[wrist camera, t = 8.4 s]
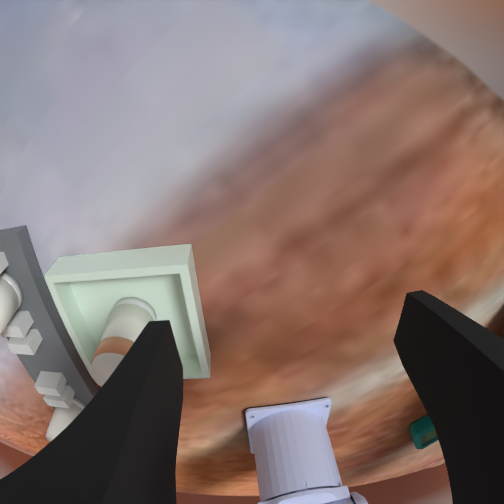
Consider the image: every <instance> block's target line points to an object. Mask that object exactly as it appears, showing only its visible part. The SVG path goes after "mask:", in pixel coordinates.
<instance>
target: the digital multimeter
mask: <svg viewBox="0 0 504 504" xmlns="http://www.w3.org/2000/svg"><path fill="white" fill-rule="evenodd" d="M410 435H411V437H412V440H413V442H414V444H415V446H416V448H417V449H423V448H425V447H427V446H428V445H430V444H432V443H434V442H435V441H437V440H439V439H438V436H437V433H436V431H435V428H434V425H433V423H432V421H431V419H430V416H429V415H427V416H425V417H423V418H421V419H419V420H418V421H416V422H414V423H412V424H411V425H410Z"/></svg>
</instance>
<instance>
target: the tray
mask: <svg viewBox="0 0 504 504" xmlns="http://www.w3.org/2000/svg"><path fill="white" fill-rule="evenodd" d="M44 278H45V280H46V283H47V285H48V288H49V290H50V293H51V295H52V298H53V300H54V302H55V305H56V307H57V309H58V311H59V314H60V316H61V318H62V320H63V322H64V325H65V327H66V329H67V331H68V333H69V335H70V337H71V339H72V341H73V343H74V345H75V347H76V349H77V351H78V353H79V355H80V357H81V359H82V361H83V362H84V364H85V366H86V368H87V370H88V372H89V373H90V369H91V365H92V359H93V357H94V354H95V351H96V348H97V346H98V344H99V342H100V341H101V338H102V335H103V333H104V330H105V328H106V325H107V323H108V320H109V318H110V315H111V312H112V309H113V307H114V305H115V303H116V302H117V301H118V300H119V299H121V298H124V297H137V298H140V299H142V300H144V301H146V302H147V303H149V304H150V305H151V306H152V307H153V309H154V310H155V312H156V316H157V321H160V320H170V324H171V327H172V331H173V335H174V338H175V342H176V345H177V349H178V352H179V356H180V359H181V362H182V366H183V379H196V378H211V353H210V348H209V343H208V337H207V332H206V327H205V322H204V316H203V311H202V305H201V300H200V294H199V288H198V282H197V276H196V270H195V264H194V258H193V251H192V245H191V244H182V245H172V246H161V247H151V248H141V249H131V250H121V251H111V252H101V253H91V254H82V255H72V256H63V257H59V258H58V259H57V260H56V262H55V263H54V264H53V265H52V267H51V268H50V269H49V270H48V272H47V273H46V274H45V276H44ZM90 375H91V373H90ZM91 377H92V376H91ZM92 379H93V378H92Z"/></svg>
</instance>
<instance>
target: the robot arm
mask: <svg viewBox="0 0 504 504" xmlns="http://www.w3.org/2000/svg"><path fill="white" fill-rule="evenodd" d="M394 343H395V346H396V349H397V351H398V354H399V357H400V359H401V362H402V364H403V367H404V369H405V371H406V373H407V374H408V376H409V378H410V380H411V382H412V384H413V386H414V388H415V389H416V391H417V393H418V395H419V397H420V399H421V401H422V403H423V405H424V407H425V409H426V411H427V412H428V414H429V416H430V419H431V421H432V423H433V425H434V428H435V431H436V433H437V436H438V439H439V442H440V445H441V448H442V452H443V456H444V459H445V463H446V467H447V471H448V476H449V481H450V486H451V492H452V500H453V504H504V338H502V337H500V336H499V335H497V334H495V333H493V332H492V331H490V330H488V329H486V328H485V327H483V326H481V325H480V324H478V323H477V322H475V321H473V320H472V319H470V318H468V317H467V316H465V315H464V314H462V313H460V312H459V311H457V310H456V309H454V308H452V307H451V306H449V305H448V304H446V303H444V302H443V301H441V300H439V299H438V298H436V297H434V296H432V295H430V294H429V293H427V292H425V291H423V290H421V291H415V292H409V293H407V294H406V298H405V302H404V306H403V309H402V313H401V317H400V320H399V324H398V327H397V331H396V334H395V338H394ZM182 402H183V366H182V362H181V359H180V356H179V352H178V349H177V345H176V342H175V338H174V335H173V331H172V327H171V324H170V320H160V321H149V322H148V323H147V324H146V326H145V327H144V329H143V330H142V332H141V333H140V335H139V336H138V337H137V339H136V340H135V342H134V343H133V345H132V346H131V348H130V349H129V351H128V352H127V353H126V355H125V356H124V358H123V359H122V360H121V362H120V363H119V365H118V366H117V367H116V369H115V370H114V371H113V373H112V374H111V376H110V377H109V378H108V380H107V381H106V382H105V383H104V385H103V386H102V387H101V388H100V390H99V391H98V392H97V393H96V395H95V396H94V397H93V398H92V400H91V401H90V402H89V403H88V404H87V405H86V407H85V408H84V409H83V410H82V411H81V412H80V413H79V414H78V416H77V417H76V418H75V419H74V420H73V421H72V422H71V423H70V424H69V425H68V426H67V427H66V428H65V429H64V430H63V431H62V432H61V433H60V434H59V435H58V436H56V437H55V438H54V439H53V440H52V441H51V442H50V443H49V444H48V445H47V446H45V447H44V448H43V449H42V450H41V451H40V452H38V453H37V454H36V455H35V456H33V457H32V458H31V459H30V460H29V461H27V462H26V463H24V464H23V465H22V466H20V467H19V468H17V469H16V470H15V471H13V472H12V473H10V474H9V475H7V476H6V477H4V478H2V479H0V504H176V481H175V469H176V455H177V446H178V437H179V428H180V419H181V411H182ZM331 404H332V401H331V398H322V399H316V400H310V401H304V402H298V403H291V404H284V405H276V406H268V407H259V408H250V409H247V410H246V411H245V415H246V422H247V429H248V436H249V444H250V451H251V453H252V454H255V462H256V471H257V479H258V487H259V495H260V502H258V503H257V504H368V503H367V501H366V499H365V498H364V497H363V496H361V495H359V494H358V493H357V492H352V493H349V490H348V487H347V485H346V486H343V485H342V482H341V478H340V474H339V471H338V467H337V464H336V460H335V457H334V453H333V449H332V446H331V442H330V439H329V435H328V432H327V428H326V424H327V420H328V416H329V412H330V408H331Z"/></svg>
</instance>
